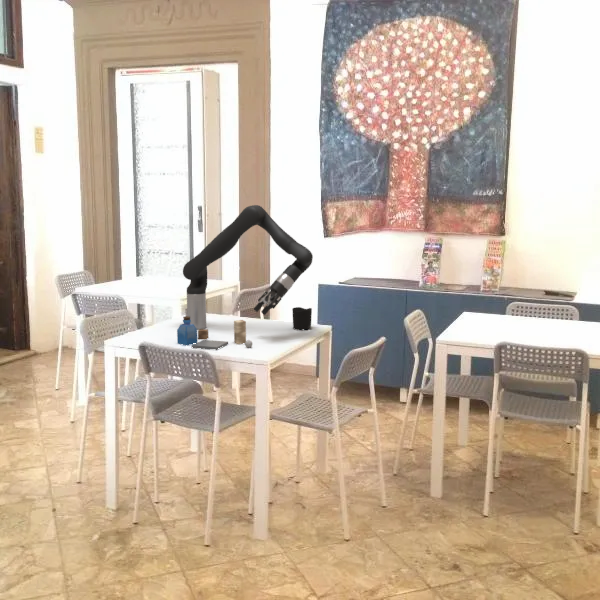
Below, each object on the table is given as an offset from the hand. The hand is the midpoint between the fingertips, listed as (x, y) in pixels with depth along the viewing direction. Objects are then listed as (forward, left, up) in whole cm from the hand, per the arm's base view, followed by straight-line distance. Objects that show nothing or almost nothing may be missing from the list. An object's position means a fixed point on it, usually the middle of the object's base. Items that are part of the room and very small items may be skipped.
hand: (259, 312), depth 329 cm
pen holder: (+9, +33, -14) cm, 37 cm away
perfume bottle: (-29, -15, -14) cm, 35 cm away
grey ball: (0, -14, -12) cm, 18 cm away
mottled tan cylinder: (-7, -7, -13) cm, 16 cm away
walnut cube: (-27, -3, -13) cm, 30 cm away
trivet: (-17, -17, -13) cm, 27 cm away
